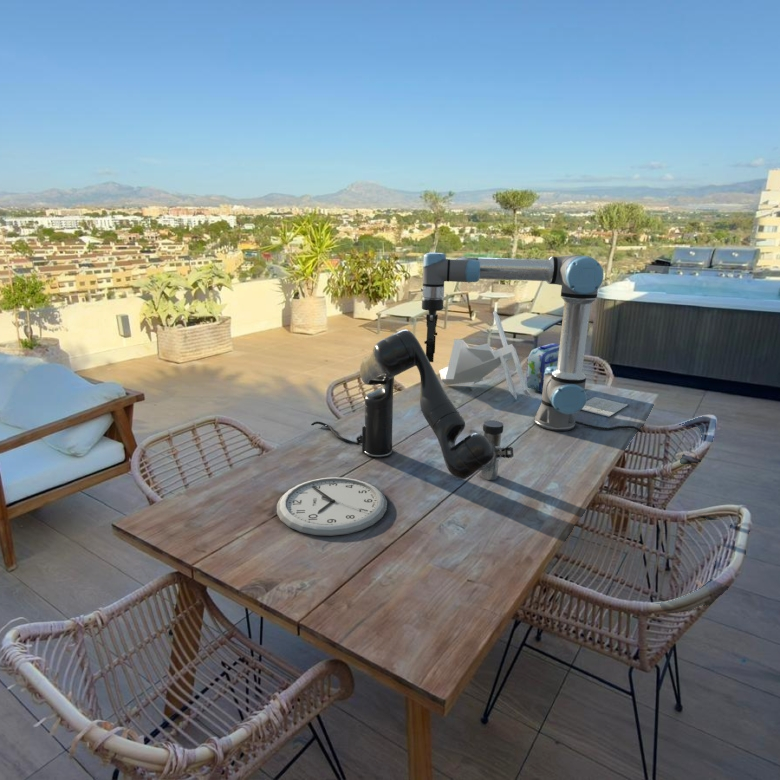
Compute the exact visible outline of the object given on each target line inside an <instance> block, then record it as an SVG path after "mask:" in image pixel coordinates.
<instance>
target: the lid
mask: <svg viewBox="0 0 780 780" xmlns="http://www.w3.org/2000/svg"><path fill="white" fill-rule="evenodd" d="M482 431H483V432H485V433H488V434H494V435H496V434H501V435H502V433H503V432H504V423H503V422H501V421H499V420H491V419H490V420H486V421H484V422H483V424H482Z"/></svg>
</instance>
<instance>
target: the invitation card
mask: <svg viewBox="0 0 780 780" xmlns="http://www.w3.org/2000/svg"><path fill="white" fill-rule="evenodd" d="M628 406H629V404H627V403H623V402H618V401H614V400H609V399H605V398H601V397H596V396H593V397H592V398H590V399H587V401H586V404H585V406H584V407H583V408H582V409H581V410H580V411H584V412H587V413H593V414H596V415H600V416H604V417H608V418H609V417H611V416H613V415H614V414H616V413H617V412H619V411H621V410H623V409H624V408H626V407H628Z"/></svg>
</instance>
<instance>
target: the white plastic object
mask: <svg viewBox="0 0 780 780" xmlns="http://www.w3.org/2000/svg"><path fill="white" fill-rule="evenodd" d="M492 315H493V319H494V321H495V324H496V325H495V326H496V328H497V332H498V335H499V338H500V342H501V345H502V347H500V348H498V349H496V350H495V349H493V348H492V347H491V346H490V344H489V343H488V342H487V343H483V344H479V345H473V346H469V345H468V343H466V342H465V340H464V339H463V338H460V339H458V338H454V340H453V344H452V349H451V353H450V357H449V362H448V366H446V367H444V368H442V369H440V370H439V371H438V372H439V376H440V381H442V383H443V384H444V385H445V386H449V385H458V384H467V383H468V384H469V383H473V384H477V383H480V382H482V381H484V378H485V377H486V376H487V375H489V374H490V373H492V372H494V371H495V370H496V369H497V368H499V367H500V366H502V370H503V373H504V376H505V380H506V383H507V386H508V390H509V393H510V394H511V395H512V397H513V398H514V399H515V400H517V392H516V391H517V390H516V388H515V385H514V381H513V378H512V375H511V371H510V369H509V365H508V361H510V360H513V363H514V366H515V369H516V372H517V376H518V380H519V382H520V385H521V389H522V391H523V393H524V395H525V396H526V397H528V396H531V395H530V389H529V388H528V387H527V384H526V381H527V380H526V378H525V375H524V371H523V369H522V368H523V367H522V366H521V362H520V359H519V355H518V352H517V349H516V347H515V346H514V345H513V343H511V344H508V341H507V337H506V334H505V331H504V328H503V325H502V321H501V318H500V315H499V314H498V312H497V311H496V310H495V311H492Z"/></svg>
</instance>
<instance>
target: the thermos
mask: <svg viewBox="0 0 780 780" xmlns="http://www.w3.org/2000/svg"><path fill="white" fill-rule="evenodd" d="M483 432H484V431H483ZM483 435H484V436H485V437H486V438H487V439H488V440H489V441H490V442H492V443H493V444H494V446H500V447H501V438H502V433H501V434H496V435H494V434H488V433H485V432H484V433H483ZM499 464H500V460H496V461H495V463H494V464H493V465H492V466H491V467H489V468H487V469H484V470H480V478H482V479H483V480H486V481H494V480H497V479H498V476H499V475H498V474H499Z"/></svg>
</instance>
